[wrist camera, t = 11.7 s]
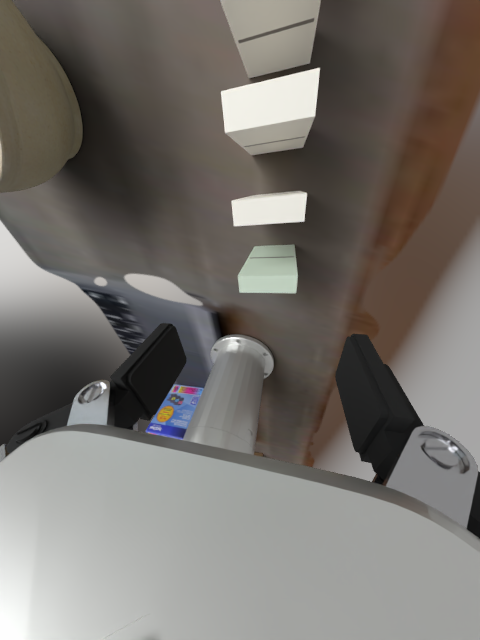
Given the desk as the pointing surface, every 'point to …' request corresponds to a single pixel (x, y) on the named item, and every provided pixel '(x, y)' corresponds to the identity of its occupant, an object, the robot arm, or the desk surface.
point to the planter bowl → (33, 107)
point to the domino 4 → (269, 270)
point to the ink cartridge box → (175, 412)
